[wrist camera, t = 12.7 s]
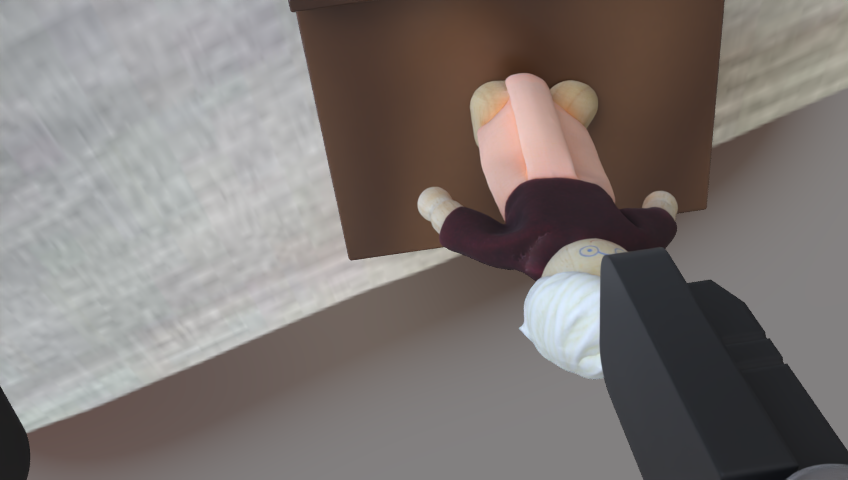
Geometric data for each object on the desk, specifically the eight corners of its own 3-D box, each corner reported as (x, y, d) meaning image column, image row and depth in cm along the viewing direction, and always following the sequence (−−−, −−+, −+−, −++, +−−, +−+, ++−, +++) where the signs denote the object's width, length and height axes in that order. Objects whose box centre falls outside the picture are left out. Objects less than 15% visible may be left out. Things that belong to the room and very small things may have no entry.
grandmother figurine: (625, 46, 27) (800, 261, 16) (624, 147, 29) (777, 395, 19) (400, 79, 27) (429, 315, 16) (415, 178, 29) (449, 441, 19)
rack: (350, 121, 42) (349, 279, 30) (307, -103, 36) (285, -13, 24) (616, 82, 42) (719, 226, 30) (619, -149, 35) (749, -81, 24)
